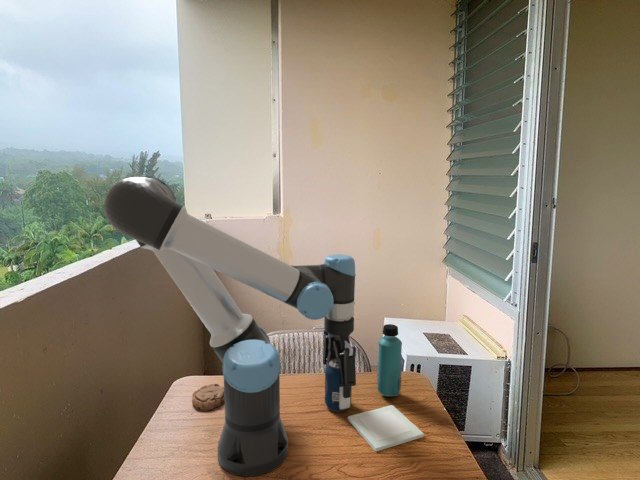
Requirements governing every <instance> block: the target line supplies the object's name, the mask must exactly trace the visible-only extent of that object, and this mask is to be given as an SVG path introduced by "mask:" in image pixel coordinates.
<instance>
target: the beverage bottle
mask: <svg viewBox="0 0 640 480" xmlns="http://www.w3.org/2000/svg"><path fill="white" fill-rule="evenodd" d="M382 334H383V335H384V336H382V337H380V338H379V340H378V351H377V352H378V353H377V354H378V355H377V357H378V358H377V368H376V369H377V374H376V376H377V382H376V385H377V391H378V393H380V395H382V396H386V397H396V396H398V395H399V394H401V390H402V359H403V358H402V350H403V349H402V348H403V347H402V346H403V342H402V341H401V339H400V338H398V337H397V336H399V327H398V326H397V325H395V324H391V323H388V324H384V325H383V326H382Z"/></svg>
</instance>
